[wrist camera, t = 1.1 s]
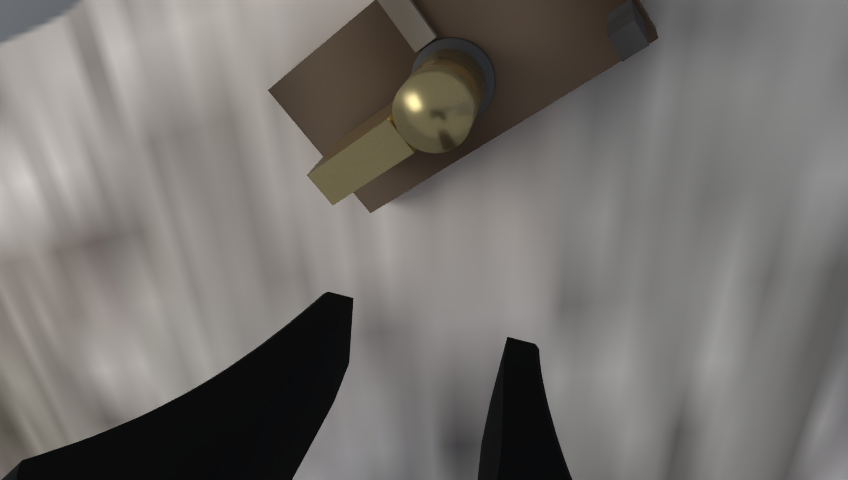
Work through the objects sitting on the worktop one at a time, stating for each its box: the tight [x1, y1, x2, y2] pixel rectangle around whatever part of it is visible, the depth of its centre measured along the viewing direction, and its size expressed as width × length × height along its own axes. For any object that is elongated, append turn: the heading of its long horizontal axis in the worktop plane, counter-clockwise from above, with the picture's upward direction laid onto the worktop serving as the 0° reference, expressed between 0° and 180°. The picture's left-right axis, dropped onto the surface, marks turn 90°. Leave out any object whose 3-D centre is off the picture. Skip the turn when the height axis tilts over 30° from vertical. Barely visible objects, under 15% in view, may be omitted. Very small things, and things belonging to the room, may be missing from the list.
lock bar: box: [307, 49, 486, 205], centre depth 18 cm, size 6×2×2 cm, turn 129°
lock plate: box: [268, 0, 658, 213], centre depth 18 cm, size 11×6×4 cm, turn 129°
